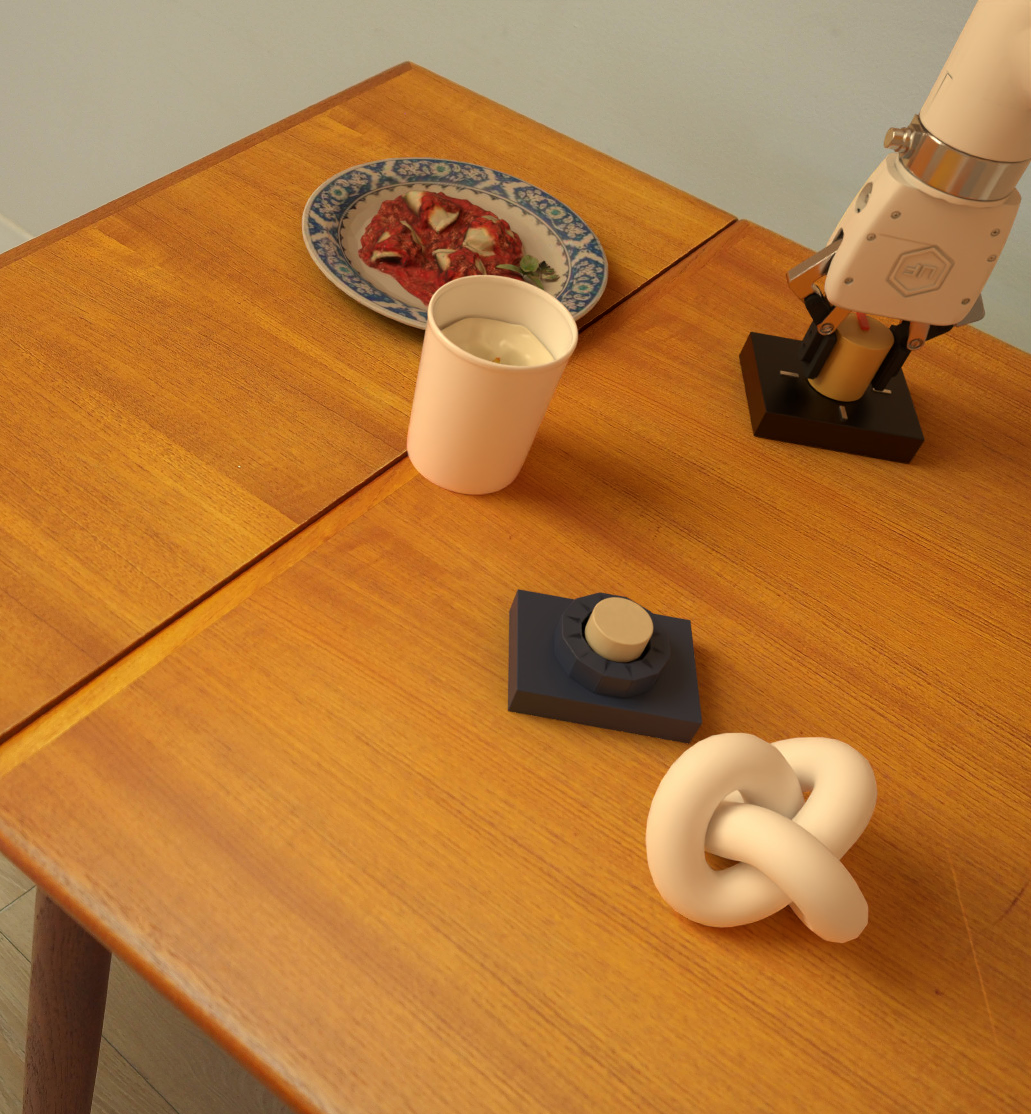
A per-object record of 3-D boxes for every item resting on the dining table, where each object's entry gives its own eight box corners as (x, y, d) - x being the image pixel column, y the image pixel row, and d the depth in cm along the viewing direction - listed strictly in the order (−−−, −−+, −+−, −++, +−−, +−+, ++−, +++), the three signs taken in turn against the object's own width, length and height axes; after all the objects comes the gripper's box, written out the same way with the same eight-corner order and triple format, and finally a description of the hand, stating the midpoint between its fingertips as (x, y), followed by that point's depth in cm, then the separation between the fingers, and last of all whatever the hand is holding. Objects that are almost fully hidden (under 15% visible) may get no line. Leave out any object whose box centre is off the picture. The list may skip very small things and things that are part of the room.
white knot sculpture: (642, 973, 65) (705, 889, 58) (602, 774, 73) (654, 680, 66) (852, 984, 66) (938, 903, 59) (790, 786, 74) (859, 695, 67)
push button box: (678, 641, 80) (701, 601, 78) (689, 744, 75) (714, 705, 72) (509, 611, 80) (524, 569, 78) (507, 711, 75) (524, 671, 72)
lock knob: (868, 406, 95) (902, 350, 92) (811, 396, 95) (842, 340, 92) (858, 370, 98) (890, 315, 95) (802, 360, 98) (832, 305, 95)
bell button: (642, 621, 76) (651, 602, 75) (645, 667, 74) (655, 649, 73) (583, 610, 76) (592, 592, 75) (585, 656, 74) (594, 638, 73)
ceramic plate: (237, 262, 103) (240, 230, 100) (400, 147, 118) (406, 117, 116) (512, 404, 95) (522, 374, 92) (648, 261, 110) (660, 232, 108)
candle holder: (465, 524, 85) (509, 388, 76) (366, 442, 90) (397, 304, 81) (558, 468, 90) (609, 334, 82) (460, 392, 95) (498, 257, 86)
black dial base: (884, 381, 102) (899, 355, 100) (909, 464, 95) (926, 438, 93) (738, 355, 102) (751, 329, 100) (753, 436, 95) (767, 409, 93)
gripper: (846, 165, 80) (737, 386, 94) (1106, 210, 80) (961, 424, 94) (826, 108, 85) (725, 325, 99) (1071, 151, 86) (937, 362, 99)
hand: (841, 371), depth 96 cm, fingers closed on lock knob, 4 cm apart
